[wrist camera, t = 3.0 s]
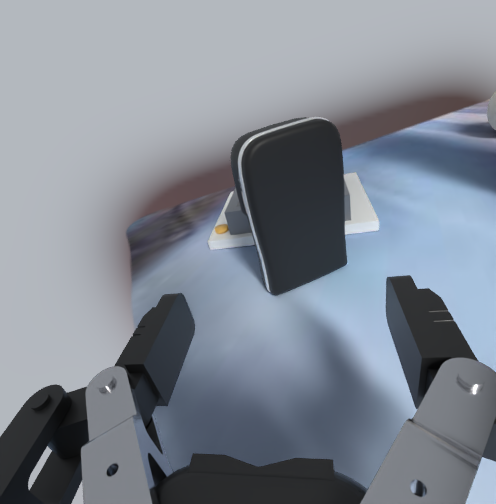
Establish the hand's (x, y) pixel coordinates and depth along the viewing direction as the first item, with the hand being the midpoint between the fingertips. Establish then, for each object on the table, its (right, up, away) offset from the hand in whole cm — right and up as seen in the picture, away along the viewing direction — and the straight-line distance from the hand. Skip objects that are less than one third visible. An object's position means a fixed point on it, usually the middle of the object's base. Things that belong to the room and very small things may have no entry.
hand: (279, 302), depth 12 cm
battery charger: (+3, 0, +13) cm, 13 cm away
